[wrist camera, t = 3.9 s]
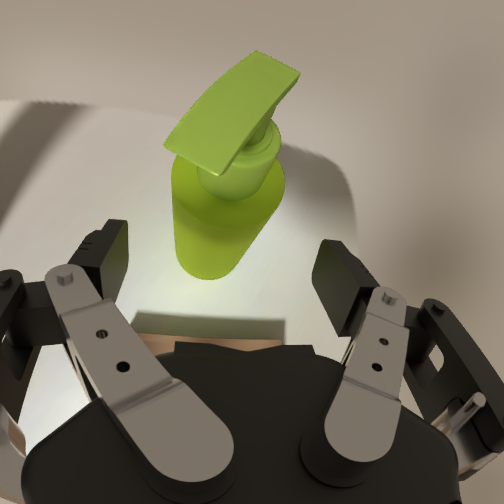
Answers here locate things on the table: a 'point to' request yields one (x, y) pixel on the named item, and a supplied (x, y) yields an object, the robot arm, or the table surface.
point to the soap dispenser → (228, 166)
